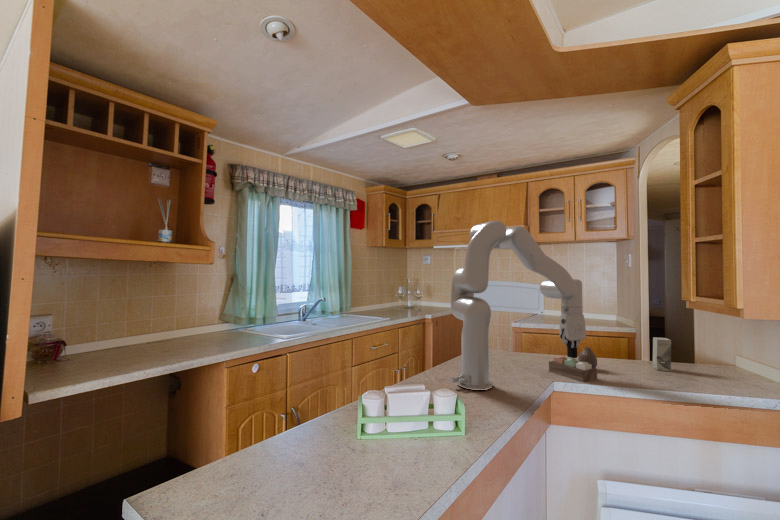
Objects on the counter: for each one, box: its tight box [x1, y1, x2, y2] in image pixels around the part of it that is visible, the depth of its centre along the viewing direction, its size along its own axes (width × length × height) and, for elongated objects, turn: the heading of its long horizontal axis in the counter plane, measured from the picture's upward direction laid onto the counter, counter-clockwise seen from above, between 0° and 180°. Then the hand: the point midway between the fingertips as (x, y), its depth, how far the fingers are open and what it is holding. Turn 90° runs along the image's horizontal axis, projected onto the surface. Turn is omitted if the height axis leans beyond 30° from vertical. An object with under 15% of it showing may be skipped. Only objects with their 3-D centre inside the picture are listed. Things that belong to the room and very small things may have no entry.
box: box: [652, 336, 672, 372], centre depth 148 cm, size 5×4×13 cm
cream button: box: [576, 361, 592, 370], centre depth 136 cm, size 4×4×3 cm
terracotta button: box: [553, 355, 570, 364], centre depth 145 cm, size 4×4×3 cm
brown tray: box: [548, 360, 598, 383], centre depth 140 cm, size 8×15×4 cm, turn 26°
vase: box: [577, 347, 598, 368], centre depth 148 cm, size 7×7×9 cm
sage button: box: [565, 357, 580, 367], centre depth 140 cm, size 4×4×3 cm
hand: (572, 357), depth 141 cm, fingers closed
